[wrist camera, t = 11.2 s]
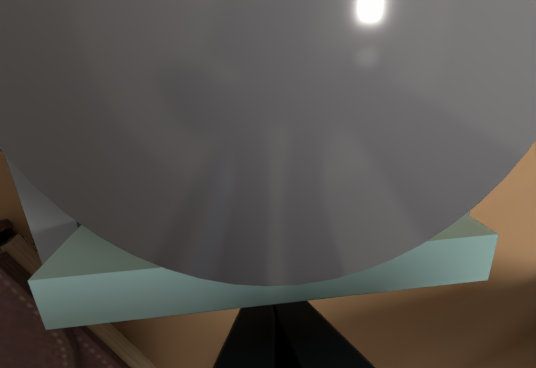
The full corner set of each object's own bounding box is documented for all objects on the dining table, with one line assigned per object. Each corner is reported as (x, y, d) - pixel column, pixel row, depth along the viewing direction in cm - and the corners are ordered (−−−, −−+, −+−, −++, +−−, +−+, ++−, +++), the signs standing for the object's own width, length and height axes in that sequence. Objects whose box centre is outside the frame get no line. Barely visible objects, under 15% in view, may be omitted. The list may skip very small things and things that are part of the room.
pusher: (382, 193, 10) (487, 280, 6) (127, 214, 9) (45, 329, 5) (384, 163, 10) (498, 233, 6) (121, 183, 9) (27, 280, 5)
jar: (349, 145, 10) (528, 260, 4) (159, 157, 9) (33, 313, 3) (361, -84, 8) (772, -567, 2) (119, -85, 7) (-363, -747, 1)
